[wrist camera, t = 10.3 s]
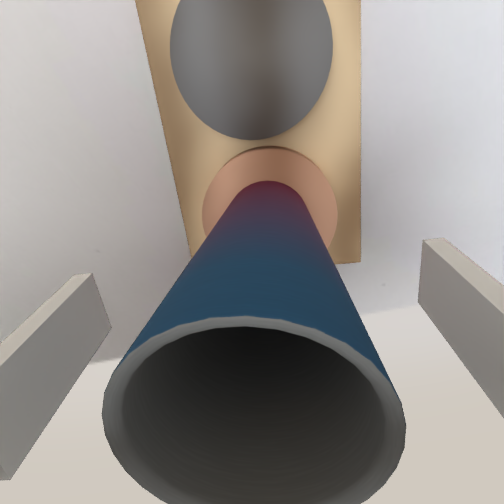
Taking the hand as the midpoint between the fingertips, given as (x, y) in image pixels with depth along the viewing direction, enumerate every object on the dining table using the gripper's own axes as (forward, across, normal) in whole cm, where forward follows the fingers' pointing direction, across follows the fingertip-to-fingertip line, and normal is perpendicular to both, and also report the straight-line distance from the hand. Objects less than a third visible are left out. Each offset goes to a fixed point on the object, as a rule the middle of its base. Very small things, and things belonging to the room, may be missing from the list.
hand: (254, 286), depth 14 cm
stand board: (+11, +1, +4) cm, 12 cm away
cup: (+8, 0, 0) cm, 8 cm away
